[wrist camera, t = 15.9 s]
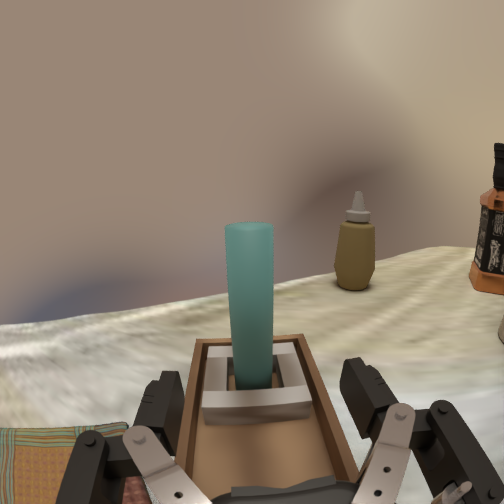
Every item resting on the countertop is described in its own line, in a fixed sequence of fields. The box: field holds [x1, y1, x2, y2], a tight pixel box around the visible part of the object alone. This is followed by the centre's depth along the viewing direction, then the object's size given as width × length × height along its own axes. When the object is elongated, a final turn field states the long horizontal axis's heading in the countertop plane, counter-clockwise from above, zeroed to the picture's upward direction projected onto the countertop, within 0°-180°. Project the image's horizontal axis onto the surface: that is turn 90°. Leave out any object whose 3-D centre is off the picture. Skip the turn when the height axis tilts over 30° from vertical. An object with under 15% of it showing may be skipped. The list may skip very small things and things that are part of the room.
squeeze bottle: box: [334, 191, 375, 290], centre depth 48 cm, size 8×8×18 cm
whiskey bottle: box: [469, 143, 504, 295], centre depth 39 cm, size 10×10×32 cm
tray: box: [174, 334, 359, 500], centre depth 20 cm, size 12×20×3 cm, turn 4°
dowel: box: [225, 222, 273, 391], centre depth 22 cm, size 4×4×16 cm
